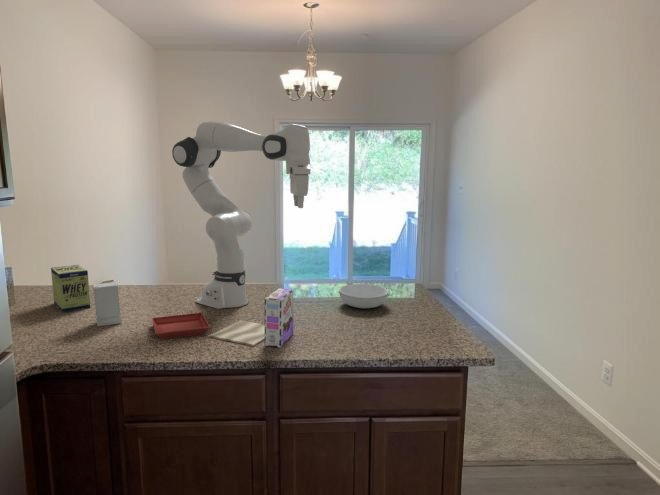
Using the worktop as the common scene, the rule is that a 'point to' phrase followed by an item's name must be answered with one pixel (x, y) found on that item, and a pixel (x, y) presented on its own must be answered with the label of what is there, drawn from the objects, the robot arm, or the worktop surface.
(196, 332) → the plant saucer
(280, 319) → the candy box
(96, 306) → the skincare box
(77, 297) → the protein box
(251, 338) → the birch board
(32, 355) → the worktop surface
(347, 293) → the serving bowl
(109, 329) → the worktop surface
